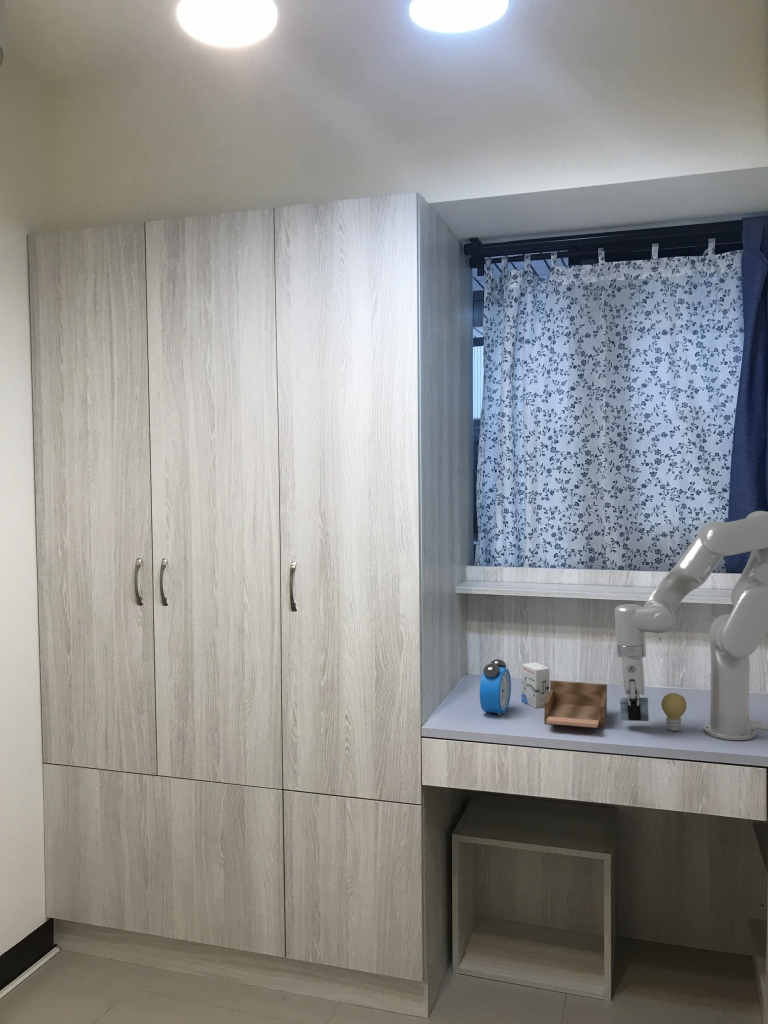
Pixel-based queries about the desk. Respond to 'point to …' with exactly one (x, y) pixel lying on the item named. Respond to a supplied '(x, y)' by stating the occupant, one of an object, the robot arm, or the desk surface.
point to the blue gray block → (643, 708)
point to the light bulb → (673, 710)
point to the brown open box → (577, 701)
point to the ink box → (535, 684)
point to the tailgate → (572, 721)
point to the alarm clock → (495, 687)
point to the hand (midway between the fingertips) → (634, 716)
